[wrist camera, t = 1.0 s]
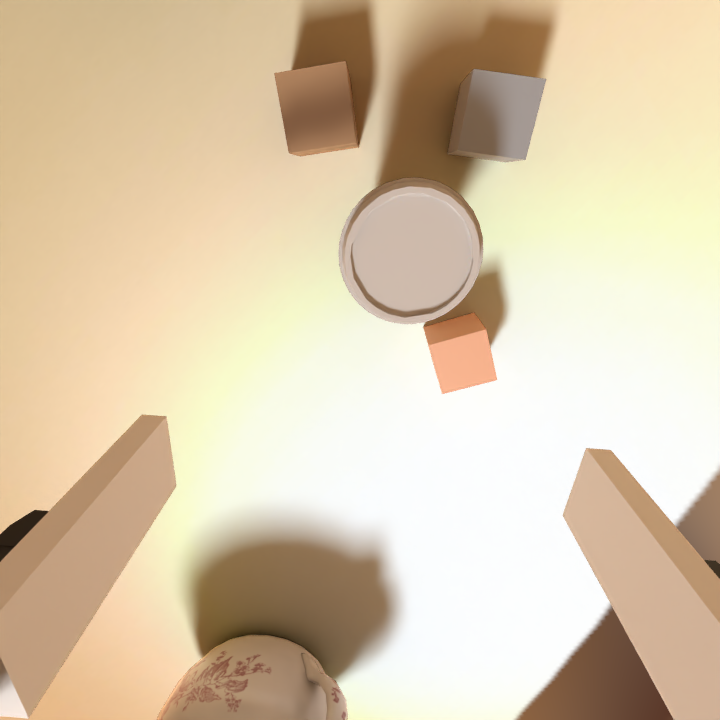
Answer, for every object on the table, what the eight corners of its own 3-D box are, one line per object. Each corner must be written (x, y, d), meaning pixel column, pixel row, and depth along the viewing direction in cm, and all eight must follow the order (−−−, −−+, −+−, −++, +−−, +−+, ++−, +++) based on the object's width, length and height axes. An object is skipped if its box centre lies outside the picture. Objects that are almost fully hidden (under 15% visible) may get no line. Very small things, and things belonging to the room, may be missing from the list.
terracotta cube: (423, 326, 41) (428, 345, 36) (473, 312, 40) (486, 329, 36) (435, 371, 43) (442, 394, 38) (484, 358, 42) (497, 379, 38)
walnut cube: (288, 87, 34) (274, 73, 29) (350, 77, 33) (345, 60, 29) (300, 156, 36) (288, 153, 31) (358, 147, 35) (356, 142, 30)
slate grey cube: (460, 84, 33) (473, 68, 28) (522, 93, 33) (546, 79, 29) (446, 154, 35) (457, 150, 30) (506, 162, 35) (525, 159, 30)
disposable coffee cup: (424, 155, 35) (445, 143, 24) (472, 255, 38) (511, 285, 27) (328, 216, 37) (308, 231, 26) (381, 306, 40) (383, 353, 29)
